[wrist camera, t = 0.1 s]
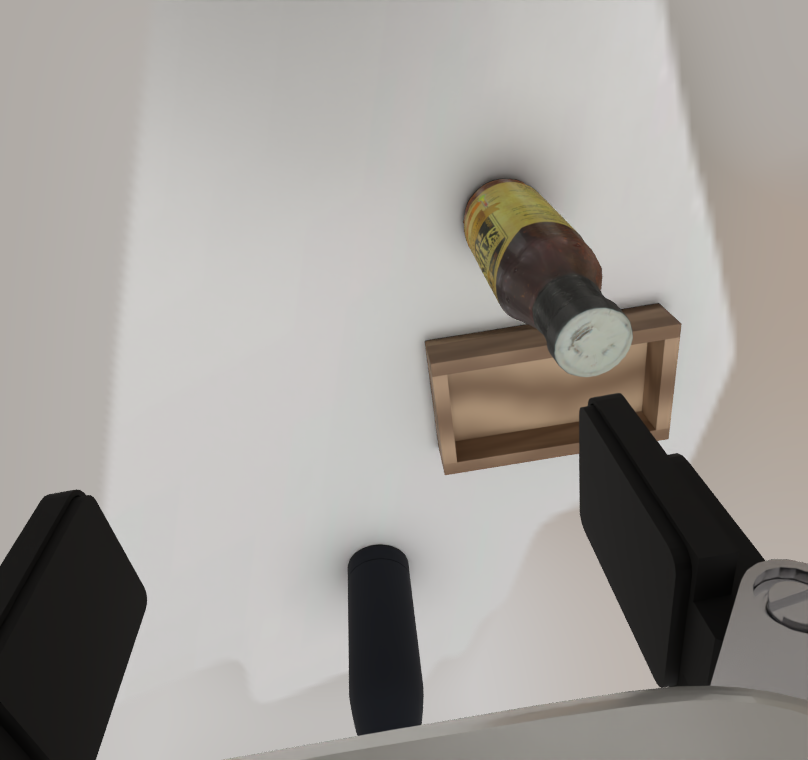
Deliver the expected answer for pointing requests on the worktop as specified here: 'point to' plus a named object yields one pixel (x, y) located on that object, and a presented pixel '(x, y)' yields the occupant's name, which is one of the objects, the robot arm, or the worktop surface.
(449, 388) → the bottle tray
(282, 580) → the worktop surface
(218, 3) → the worktop surface
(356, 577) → the wine bottle
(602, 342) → the sauce bottle
